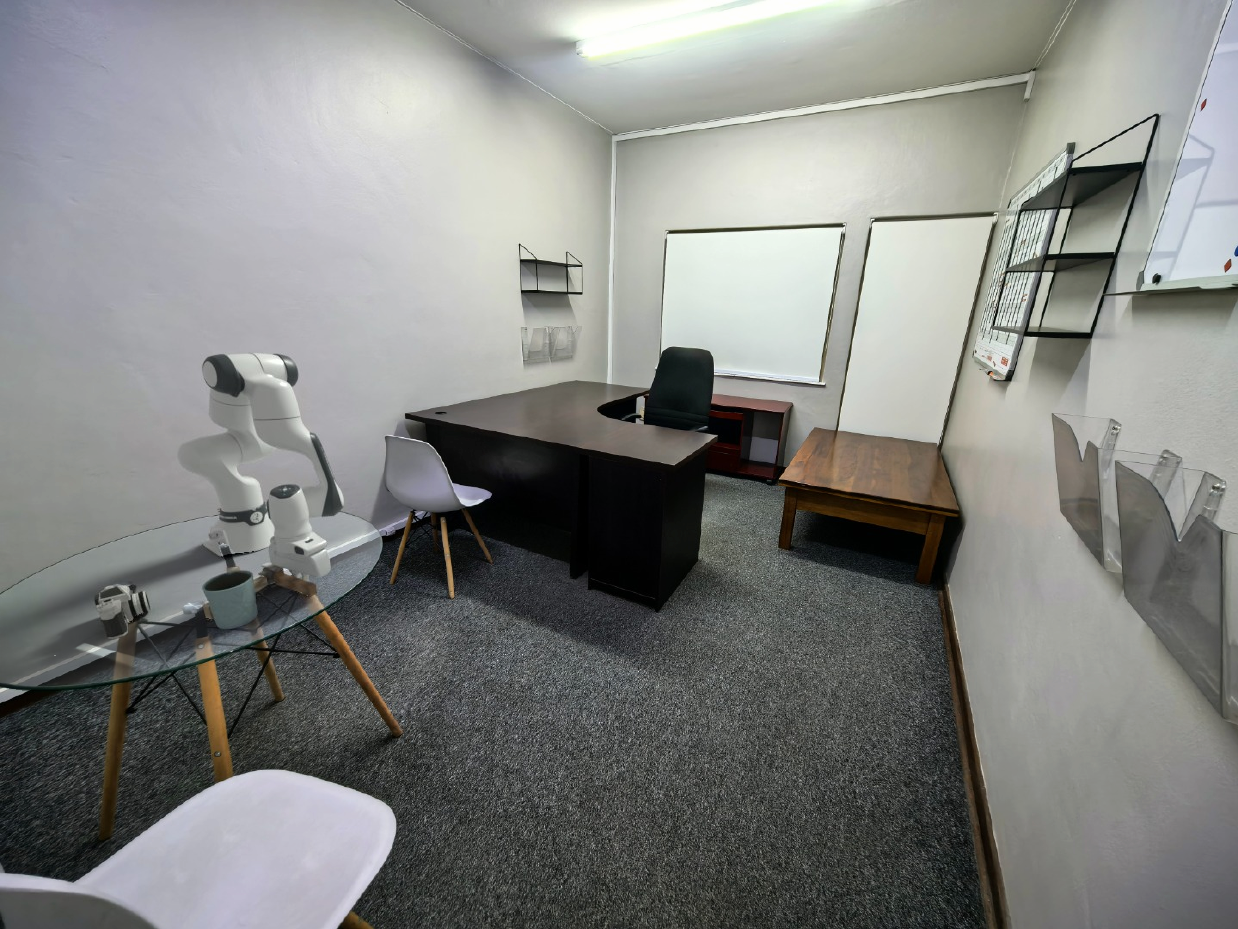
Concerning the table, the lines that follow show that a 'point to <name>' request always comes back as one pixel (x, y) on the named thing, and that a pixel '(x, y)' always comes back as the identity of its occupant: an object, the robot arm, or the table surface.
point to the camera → (119, 608)
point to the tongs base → (258, 585)
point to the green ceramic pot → (231, 598)
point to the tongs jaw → (291, 581)
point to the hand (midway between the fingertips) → (303, 583)
